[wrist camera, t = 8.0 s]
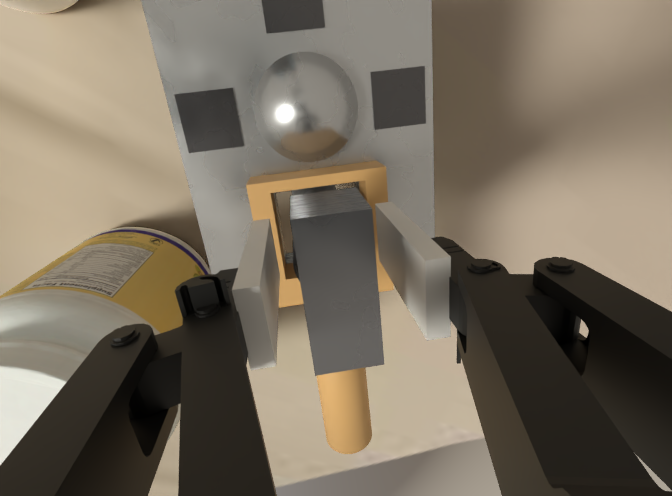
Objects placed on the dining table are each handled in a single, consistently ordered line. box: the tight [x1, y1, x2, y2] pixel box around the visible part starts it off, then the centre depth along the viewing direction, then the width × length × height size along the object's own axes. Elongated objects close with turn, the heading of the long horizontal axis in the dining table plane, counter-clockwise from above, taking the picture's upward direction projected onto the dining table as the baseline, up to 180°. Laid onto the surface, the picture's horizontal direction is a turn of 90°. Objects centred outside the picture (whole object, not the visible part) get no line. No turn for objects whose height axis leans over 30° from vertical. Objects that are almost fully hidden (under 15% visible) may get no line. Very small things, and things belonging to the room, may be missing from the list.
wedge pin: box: [290, 185, 384, 376], centre depth 19 cm, size 6×3×16 cm, turn 6°
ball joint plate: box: [141, 0, 435, 274], centre depth 23 cm, size 15×12×12 cm
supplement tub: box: [0, 227, 211, 465], centre depth 24 cm, size 12×12×17 cm
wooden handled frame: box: [246, 161, 393, 454], centre depth 23 cm, size 17×6×5 cm, turn 6°
